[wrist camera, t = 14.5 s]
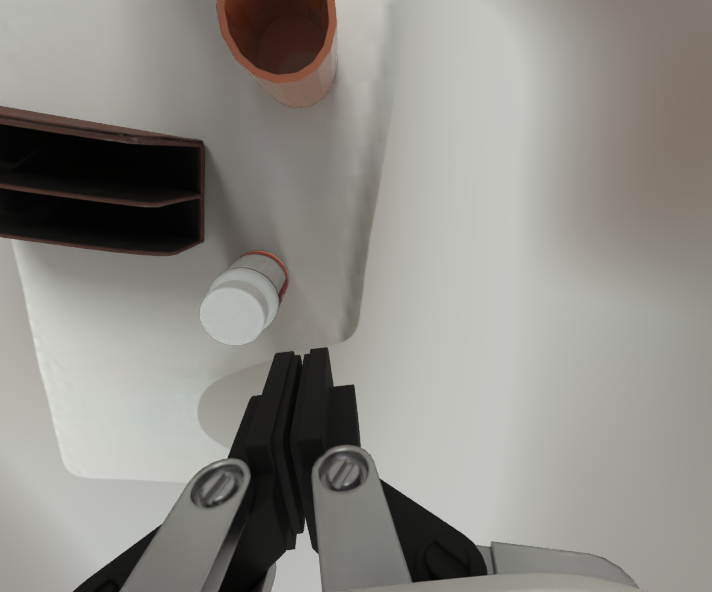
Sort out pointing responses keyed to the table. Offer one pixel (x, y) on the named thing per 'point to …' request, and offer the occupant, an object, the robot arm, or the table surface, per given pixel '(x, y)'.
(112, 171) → the letter holder
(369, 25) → the table surface
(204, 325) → the pill bottle
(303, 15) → the pen cup
